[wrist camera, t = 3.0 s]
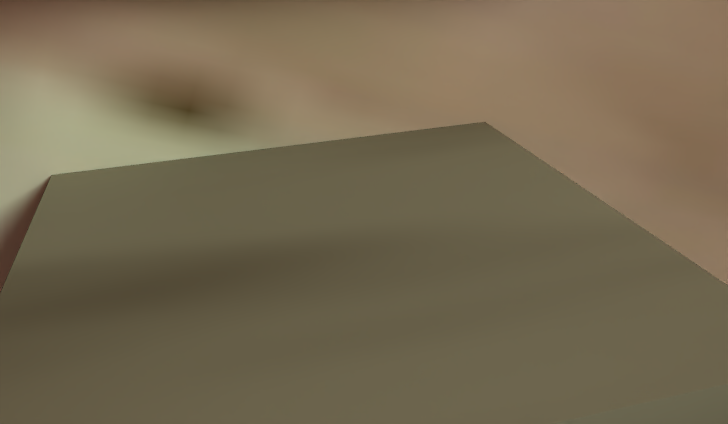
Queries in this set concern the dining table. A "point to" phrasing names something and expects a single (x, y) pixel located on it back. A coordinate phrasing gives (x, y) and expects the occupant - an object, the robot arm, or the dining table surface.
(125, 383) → the walnut cube
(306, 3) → the dining table surface
